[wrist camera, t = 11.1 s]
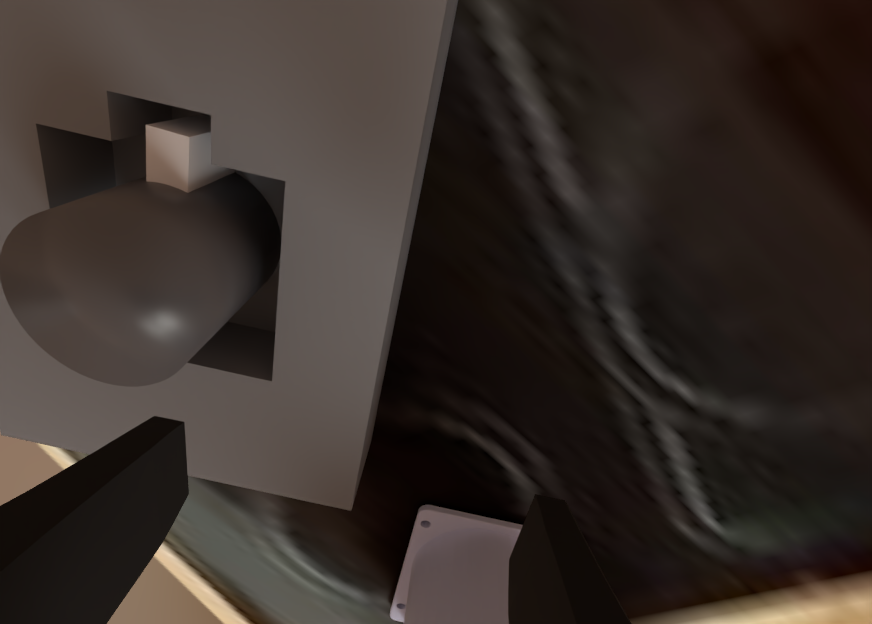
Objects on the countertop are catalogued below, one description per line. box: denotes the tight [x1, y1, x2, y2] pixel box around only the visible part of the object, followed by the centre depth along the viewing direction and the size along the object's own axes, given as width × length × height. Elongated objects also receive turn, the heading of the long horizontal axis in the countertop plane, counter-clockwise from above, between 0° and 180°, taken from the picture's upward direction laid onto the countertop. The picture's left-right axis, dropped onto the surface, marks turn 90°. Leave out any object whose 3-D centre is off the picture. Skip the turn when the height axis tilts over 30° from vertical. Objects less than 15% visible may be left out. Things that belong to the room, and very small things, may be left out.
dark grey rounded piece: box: [0, 114, 281, 387], centre depth 15 cm, size 6×5×6 cm
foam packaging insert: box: [0, 0, 458, 511], centre depth 17 cm, size 18×14×4 cm
